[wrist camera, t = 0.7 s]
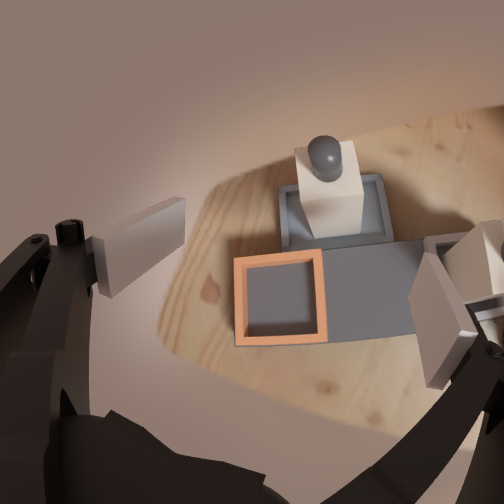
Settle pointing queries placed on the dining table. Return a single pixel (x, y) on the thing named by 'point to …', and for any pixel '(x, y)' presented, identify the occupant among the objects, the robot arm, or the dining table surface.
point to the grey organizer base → (335, 293)
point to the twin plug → (478, 263)
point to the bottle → (330, 187)
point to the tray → (301, 237)
